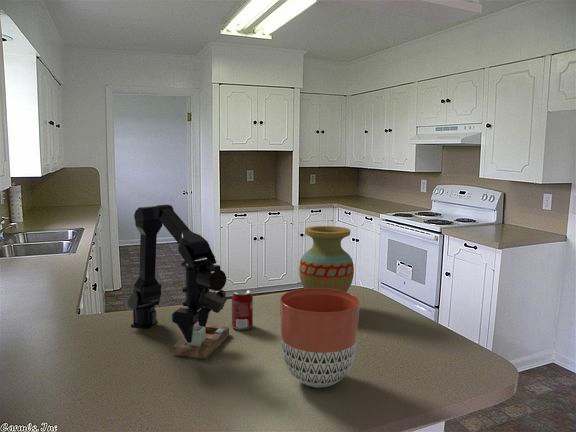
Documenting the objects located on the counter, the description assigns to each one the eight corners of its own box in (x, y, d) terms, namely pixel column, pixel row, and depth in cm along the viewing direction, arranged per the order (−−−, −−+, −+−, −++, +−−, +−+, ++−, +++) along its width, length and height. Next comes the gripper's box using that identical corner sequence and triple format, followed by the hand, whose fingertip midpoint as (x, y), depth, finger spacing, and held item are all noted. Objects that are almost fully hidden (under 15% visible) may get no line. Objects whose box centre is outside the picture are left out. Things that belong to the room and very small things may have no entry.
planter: (298, 409, 103) (300, 317, 100) (267, 371, 121) (268, 292, 118) (372, 392, 111) (375, 306, 108) (332, 359, 128) (334, 284, 125)
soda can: (249, 331, 147) (249, 295, 146) (229, 330, 149) (228, 294, 147) (254, 324, 154) (255, 289, 152) (235, 322, 155) (235, 288, 154)
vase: (364, 312, 167) (367, 231, 163) (320, 323, 155) (323, 236, 151) (329, 298, 183) (331, 223, 179) (287, 307, 172) (289, 227, 168)
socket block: (173, 354, 130) (173, 345, 129) (199, 331, 147) (199, 322, 147) (206, 358, 127) (206, 348, 127) (229, 334, 145) (229, 325, 144)
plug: (187, 350, 131) (186, 329, 131) (192, 345, 135) (192, 324, 134) (200, 352, 131) (199, 330, 130) (205, 346, 134) (205, 325, 134)
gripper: (209, 295, 119) (210, 352, 122) (233, 277, 137) (233, 327, 140) (170, 292, 122) (171, 348, 124) (199, 274, 140) (199, 323, 142)
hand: (196, 336), depth 132 cm, fingers open, 9 cm apart
